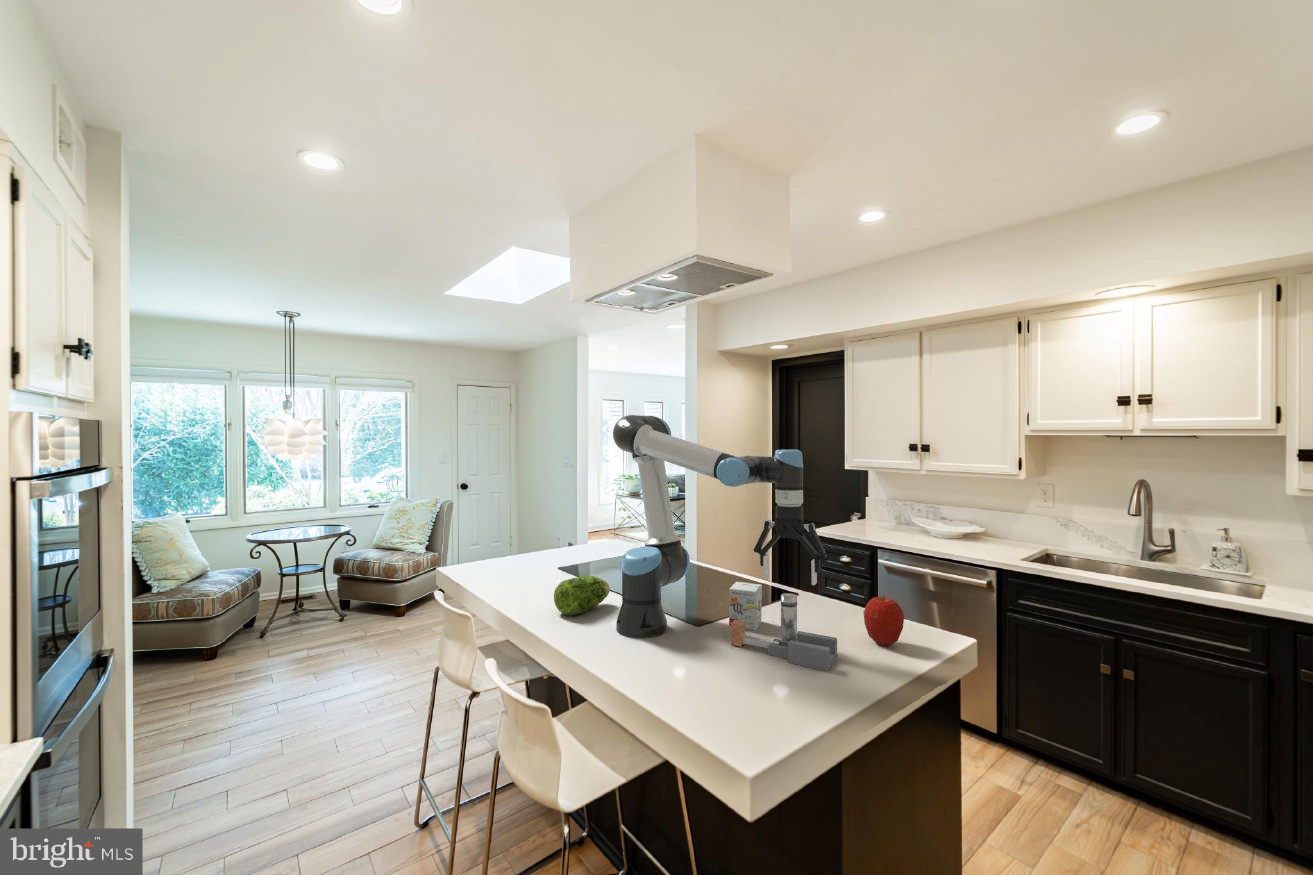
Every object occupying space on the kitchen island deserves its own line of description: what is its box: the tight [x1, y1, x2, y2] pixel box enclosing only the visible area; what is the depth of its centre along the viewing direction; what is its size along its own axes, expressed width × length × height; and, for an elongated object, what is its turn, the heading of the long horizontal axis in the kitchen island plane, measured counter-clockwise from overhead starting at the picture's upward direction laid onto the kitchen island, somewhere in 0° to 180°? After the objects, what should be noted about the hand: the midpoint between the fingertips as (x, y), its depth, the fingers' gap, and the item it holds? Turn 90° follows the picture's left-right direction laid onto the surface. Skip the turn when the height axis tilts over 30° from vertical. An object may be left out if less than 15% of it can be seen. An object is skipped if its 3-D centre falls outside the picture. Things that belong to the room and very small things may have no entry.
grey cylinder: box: [780, 592, 798, 641], centre depth 155 cm, size 4×4×13 cm
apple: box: [862, 593, 905, 647], centre depth 154 cm, size 10×10×14 cm
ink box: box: [728, 581, 763, 631], centre depth 170 cm, size 9×9×12 cm
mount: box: [767, 630, 838, 672], centre depth 144 cm, size 16×10×5 cm, turn 59°
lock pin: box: [730, 620, 780, 649], centre depth 150 cm, size 13×3×6 cm, turn 59°
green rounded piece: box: [553, 575, 611, 616], centre depth 184 cm, size 12×21×11 cm, turn 141°
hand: (789, 581), depth 155 cm, fingers open, 13 cm apart
